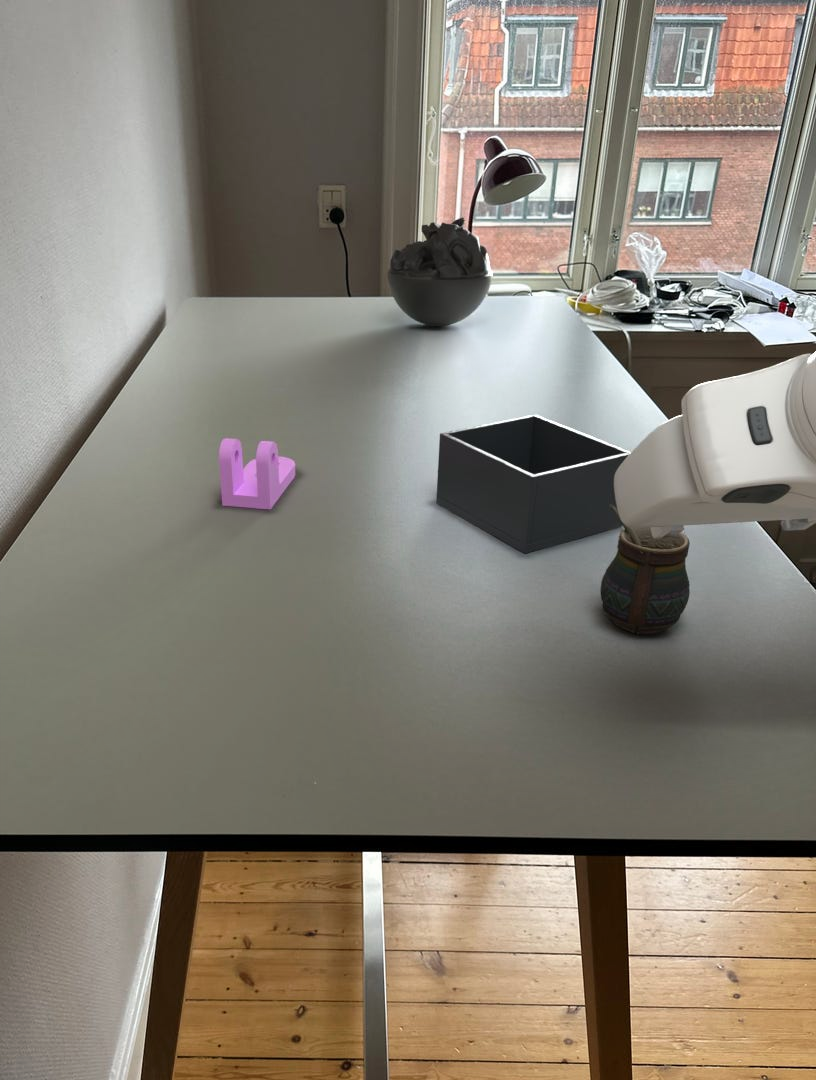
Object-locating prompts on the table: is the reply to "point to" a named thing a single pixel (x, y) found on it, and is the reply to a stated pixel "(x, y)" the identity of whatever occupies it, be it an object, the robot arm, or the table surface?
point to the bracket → (253, 475)
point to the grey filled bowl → (441, 275)
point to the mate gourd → (646, 581)
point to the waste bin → (529, 481)
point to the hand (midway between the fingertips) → (725, 523)
